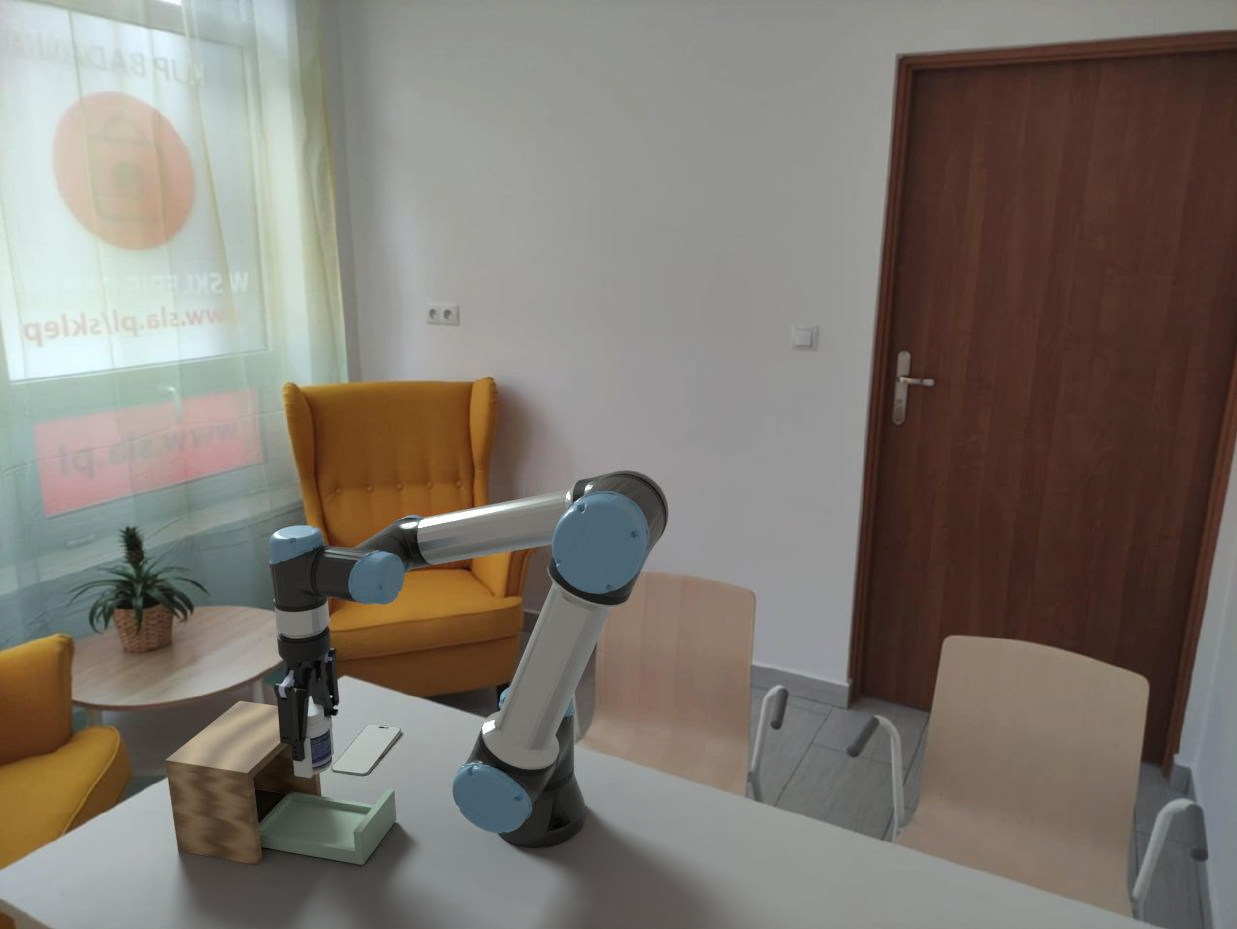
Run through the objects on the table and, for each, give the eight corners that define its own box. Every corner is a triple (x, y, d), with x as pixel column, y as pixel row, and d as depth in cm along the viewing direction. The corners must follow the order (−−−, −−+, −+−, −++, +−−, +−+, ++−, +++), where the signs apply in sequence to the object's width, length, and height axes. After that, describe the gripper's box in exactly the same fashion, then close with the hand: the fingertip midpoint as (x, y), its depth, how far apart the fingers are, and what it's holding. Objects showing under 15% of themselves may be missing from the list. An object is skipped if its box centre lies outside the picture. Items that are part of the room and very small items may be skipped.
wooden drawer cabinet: (321, 794, 154) (313, 711, 150) (257, 865, 137) (247, 773, 133) (249, 783, 157) (239, 700, 153) (178, 850, 140) (165, 760, 136)
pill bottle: (338, 758, 143) (334, 703, 141) (321, 778, 138) (317, 721, 136) (307, 754, 144) (303, 699, 142) (289, 773, 139) (284, 716, 137)
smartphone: (328, 769, 161) (367, 723, 175) (329, 775, 161) (368, 728, 175) (366, 774, 159) (402, 727, 173) (367, 780, 160) (403, 732, 174)
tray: (396, 820, 147) (394, 789, 146) (363, 865, 137) (360, 832, 136) (291, 802, 152) (288, 773, 150) (251, 845, 141) (247, 813, 140)
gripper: (314, 601, 145) (324, 730, 151) (243, 652, 127) (257, 795, 134) (356, 606, 143) (365, 736, 149) (290, 659, 126) (303, 803, 132)
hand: (314, 764), depth 141 cm, fingers closed on pill bottle, 5 cm apart
